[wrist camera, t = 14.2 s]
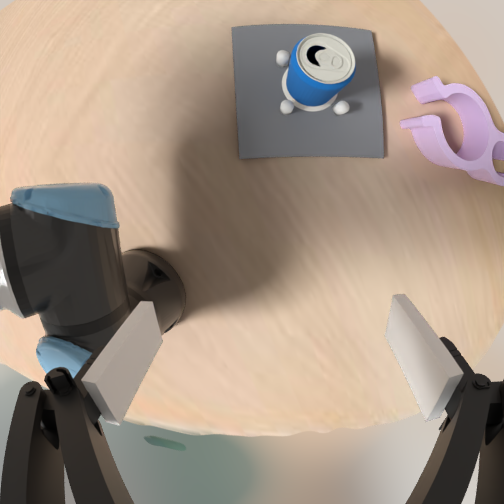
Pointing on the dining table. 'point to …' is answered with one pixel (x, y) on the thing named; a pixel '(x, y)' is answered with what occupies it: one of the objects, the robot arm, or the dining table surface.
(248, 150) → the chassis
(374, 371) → the dining table surface
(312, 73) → the beverage can
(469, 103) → the clip
